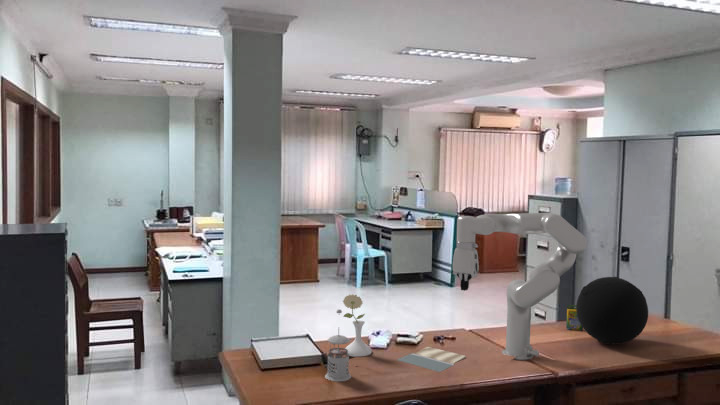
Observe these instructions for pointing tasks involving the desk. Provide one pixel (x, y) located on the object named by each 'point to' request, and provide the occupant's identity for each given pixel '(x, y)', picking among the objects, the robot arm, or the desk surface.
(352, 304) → the flower in vase
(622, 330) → the sphere
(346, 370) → the french press
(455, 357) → the plank
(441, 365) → the grey rectangular panel
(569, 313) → the crayon box
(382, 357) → the desk surface
